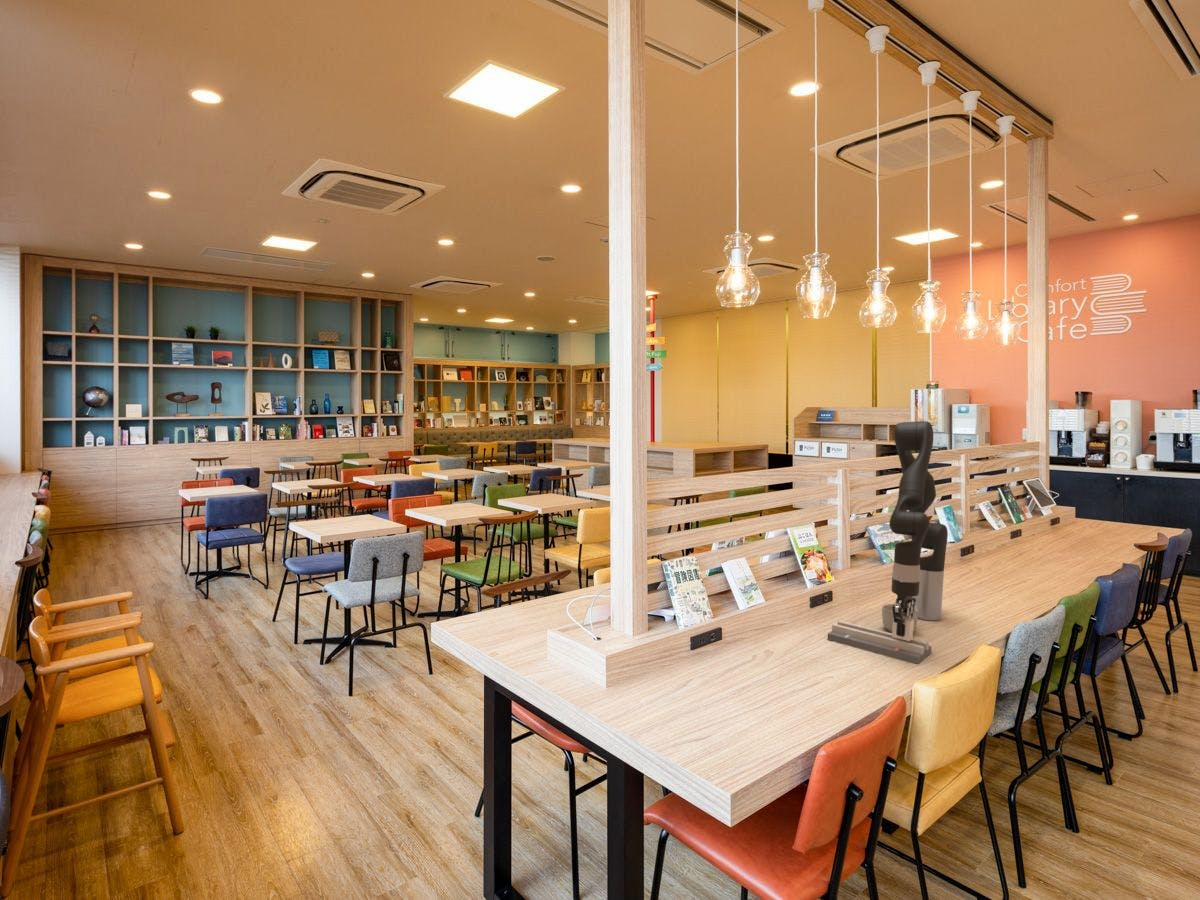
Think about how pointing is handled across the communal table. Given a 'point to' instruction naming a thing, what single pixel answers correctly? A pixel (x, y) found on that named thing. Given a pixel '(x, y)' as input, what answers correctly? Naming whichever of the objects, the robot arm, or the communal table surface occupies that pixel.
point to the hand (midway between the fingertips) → (902, 634)
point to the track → (878, 648)
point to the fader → (908, 630)
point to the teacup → (888, 616)
